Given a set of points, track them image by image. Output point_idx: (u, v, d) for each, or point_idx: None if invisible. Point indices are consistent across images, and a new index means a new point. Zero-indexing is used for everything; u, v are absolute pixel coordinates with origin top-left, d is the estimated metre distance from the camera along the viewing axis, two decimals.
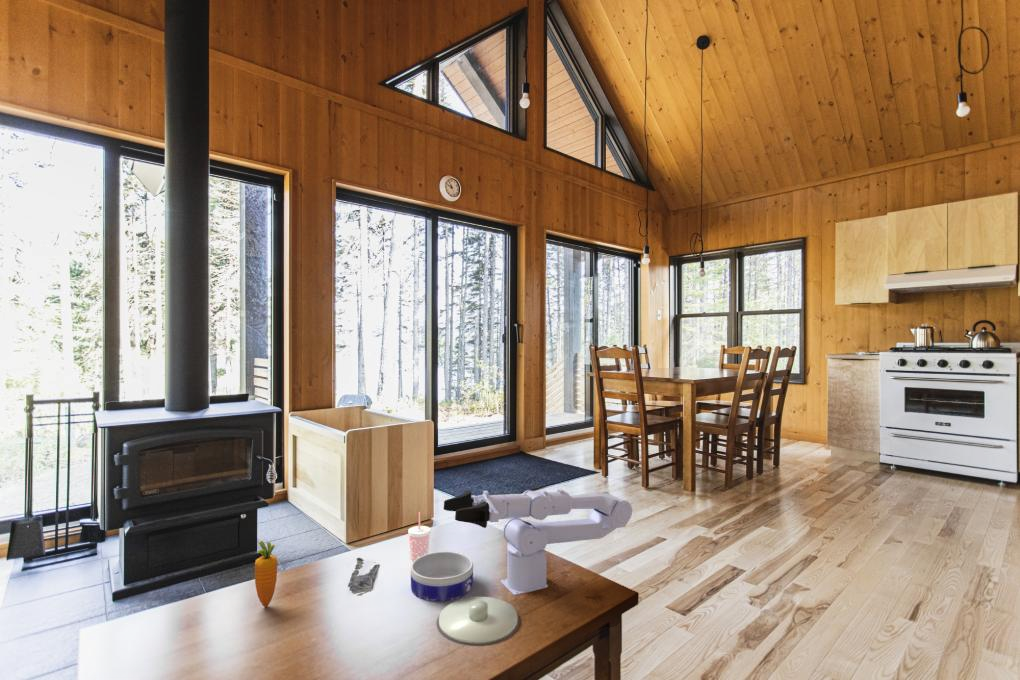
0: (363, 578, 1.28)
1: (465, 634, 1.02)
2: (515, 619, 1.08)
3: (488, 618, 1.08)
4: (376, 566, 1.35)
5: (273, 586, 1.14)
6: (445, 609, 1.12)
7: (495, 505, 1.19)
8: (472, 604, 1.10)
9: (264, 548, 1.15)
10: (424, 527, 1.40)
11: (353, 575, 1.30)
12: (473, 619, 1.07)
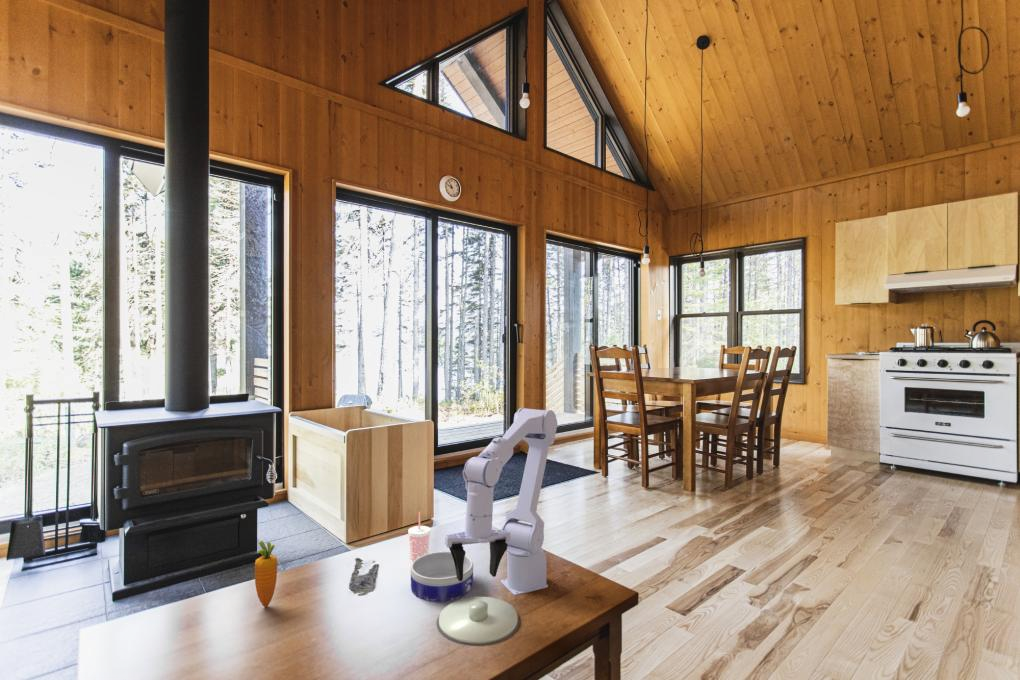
0: (364, 578, 1.28)
1: (465, 634, 1.02)
2: (515, 619, 1.08)
3: (488, 618, 1.08)
4: (375, 566, 1.35)
5: (273, 586, 1.14)
6: (445, 609, 1.12)
7: (491, 528, 1.10)
8: (472, 604, 1.10)
9: (264, 548, 1.15)
10: (424, 527, 1.40)
11: (353, 575, 1.30)
12: (473, 619, 1.07)
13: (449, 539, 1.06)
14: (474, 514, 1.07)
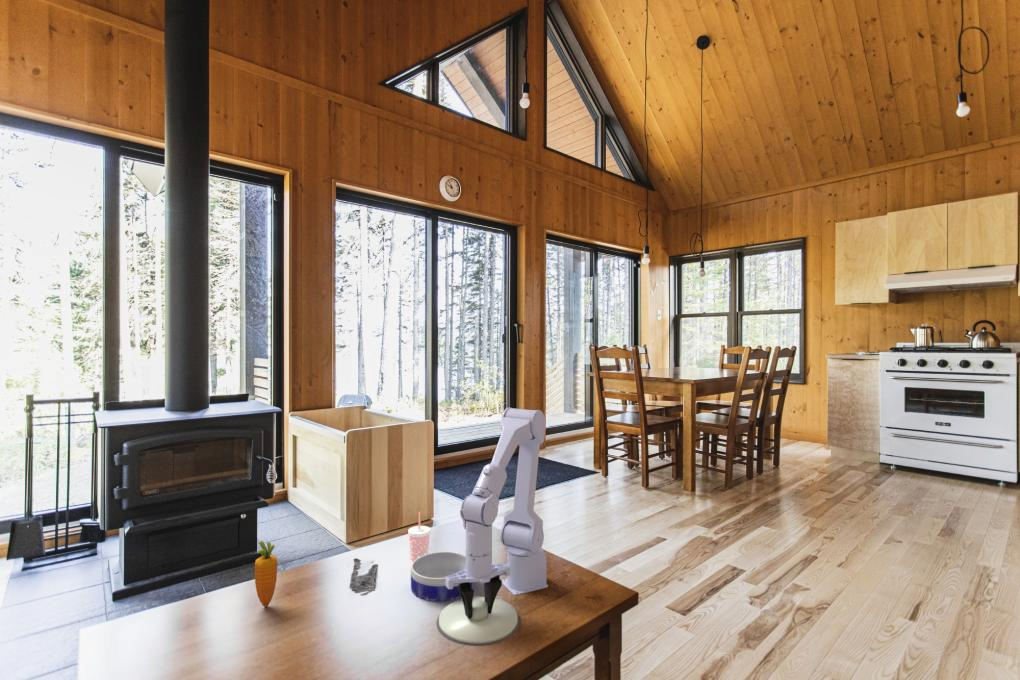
0: (364, 578, 1.28)
1: (465, 634, 1.02)
2: (515, 619, 1.08)
3: (488, 618, 1.08)
4: (375, 566, 1.35)
5: (273, 586, 1.14)
6: (445, 609, 1.12)
7: (491, 565, 1.09)
8: (472, 604, 1.10)
9: (264, 548, 1.15)
10: (424, 527, 1.40)
11: (353, 576, 1.30)
12: (473, 619, 1.07)
13: (450, 581, 1.05)
14: (474, 554, 1.06)
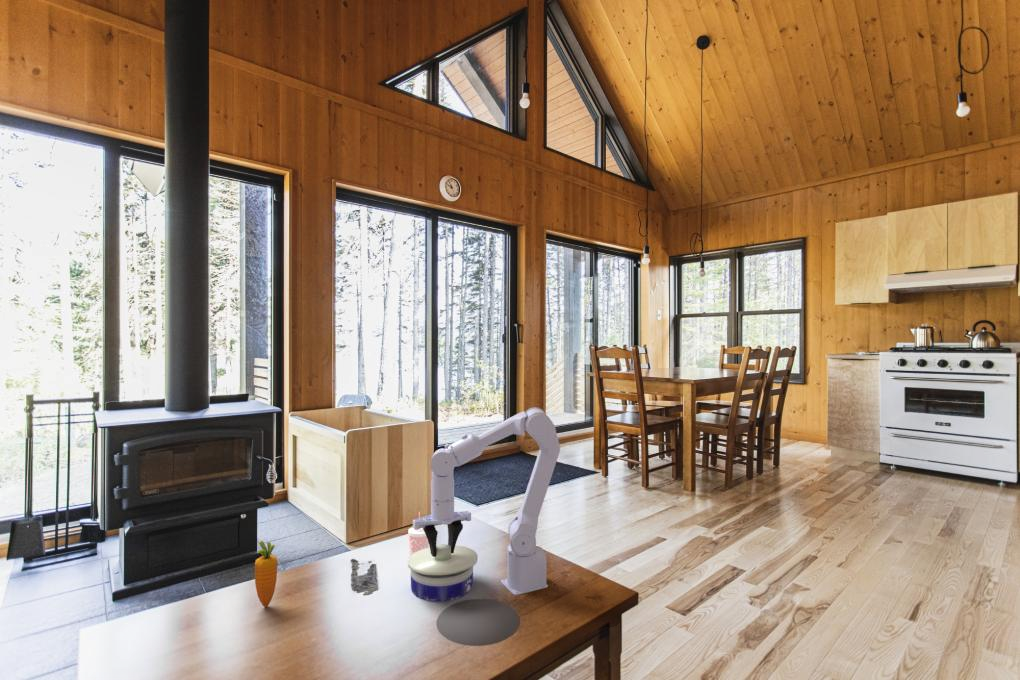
0: (364, 578, 1.28)
1: (429, 568, 1.17)
2: (475, 558, 1.23)
3: (451, 558, 1.23)
4: (373, 566, 1.35)
5: (273, 586, 1.14)
6: (414, 554, 1.26)
7: None
8: (437, 546, 1.24)
9: (264, 548, 1.15)
10: None
11: (353, 576, 1.29)
12: (438, 559, 1.22)
13: (416, 523, 1.20)
14: (431, 497, 1.23)
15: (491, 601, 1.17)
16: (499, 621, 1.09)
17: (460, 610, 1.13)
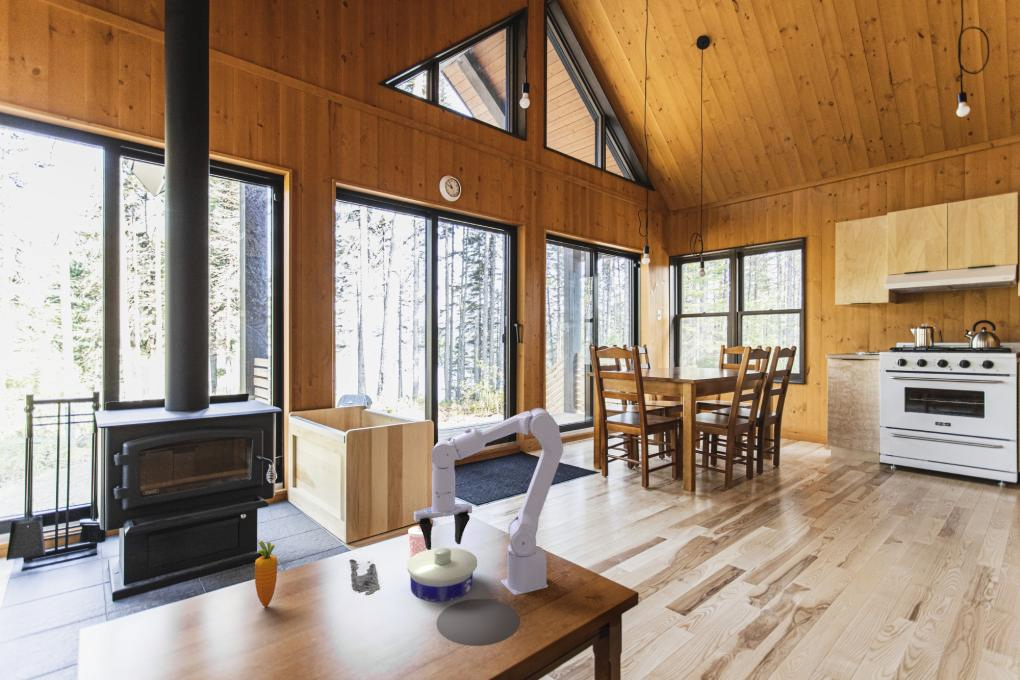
0: (365, 578, 1.28)
1: (428, 574, 1.17)
2: (474, 564, 1.23)
3: (451, 563, 1.23)
4: (373, 566, 1.35)
5: (273, 586, 1.14)
6: (414, 556, 1.27)
7: None
8: (437, 550, 1.24)
9: (264, 548, 1.15)
10: None
11: (353, 576, 1.29)
12: (438, 563, 1.22)
13: (417, 515, 1.20)
14: (432, 489, 1.23)
15: (491, 601, 1.17)
16: (499, 621, 1.09)
17: (460, 610, 1.13)
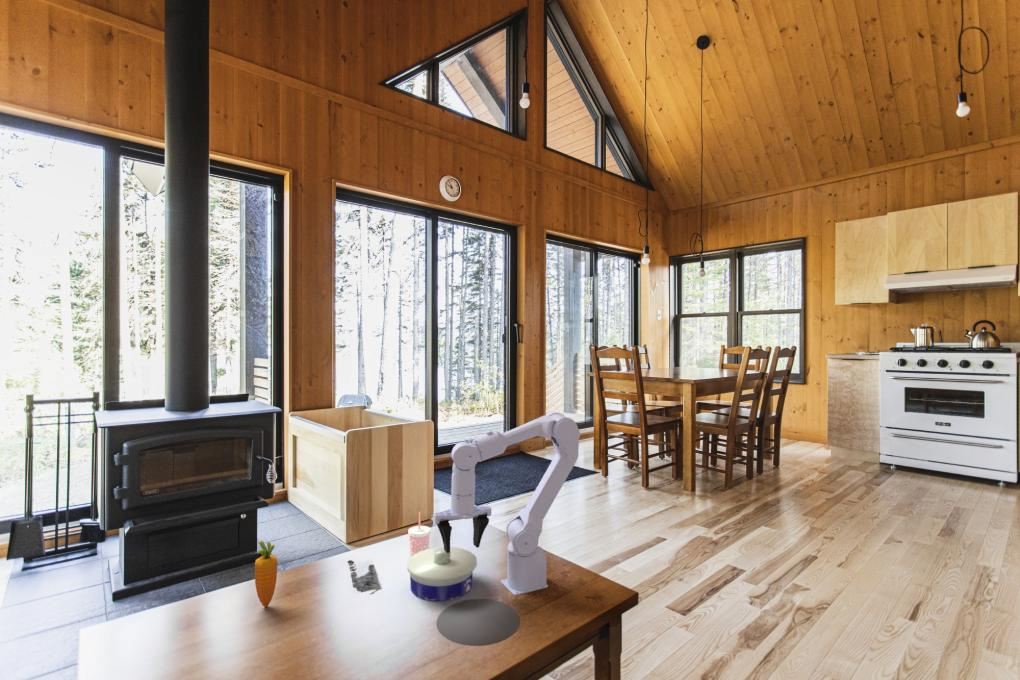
0: (365, 578, 1.28)
1: (428, 573, 1.17)
2: (474, 563, 1.23)
3: (450, 562, 1.23)
4: (372, 566, 1.35)
5: (273, 586, 1.14)
6: (413, 556, 1.27)
7: (474, 505, 1.22)
8: (436, 550, 1.25)
9: (264, 548, 1.15)
10: (424, 527, 1.40)
11: (353, 577, 1.29)
12: (437, 563, 1.22)
13: (437, 517, 1.18)
14: (452, 492, 1.21)
15: (491, 601, 1.17)
16: (499, 621, 1.09)
17: (460, 610, 1.13)
